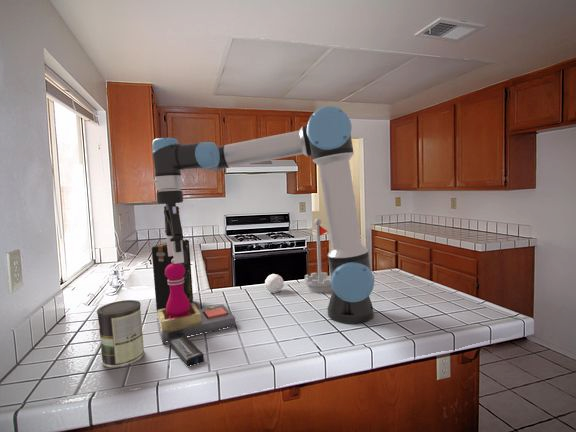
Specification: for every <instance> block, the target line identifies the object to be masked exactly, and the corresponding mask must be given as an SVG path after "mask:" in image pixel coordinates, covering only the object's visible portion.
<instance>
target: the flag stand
mask: <svg viewBox="0 0 576 432" xmlns="http://www.w3.org/2000/svg"><path fill="white" fill-rule="evenodd" d="M313 223H314V225H315V229H316V230H315V231H316V254H317V257H316V259H317V272H311V273H310V275H309V274H305V275H304V284H305V285H306V289H307V291H308V292H311V293H316V294H318V293H319V294H320V293H321V294H322V293H323V294H325V293H330V292H332V287H331V274H330V273H329V275H328V272H323V271H322V250H321V249H322V248H321V236H322V235H323V234H326V233H327V232H328V230H327V229H326V228H324V227H322V226H321V224H322V220H321V218H318V217H317V218H315V219H314V222H313Z"/></svg>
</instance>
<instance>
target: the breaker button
mask: <svg viewBox="0 0 576 432" xmlns="http://www.w3.org/2000/svg"><path fill="white" fill-rule="evenodd" d="M204 314H205V317H206V318H207V319H211V318H215V317H220V316H224V315H227V312H226V311H225V310H224V309H223V308H222V307H221V308H216V309H211V310H206V311H204Z"/></svg>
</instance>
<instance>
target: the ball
mask: <svg viewBox="0 0 576 432" xmlns="http://www.w3.org/2000/svg"><path fill="white" fill-rule="evenodd" d="M284 282H285V281H284V279H283V277H282V276H281V275H279V274H275V273H272V274H269V275H268V276H267V277H266V279H265V280H264V286H265V289H266V291H268V292H270V293H273V294H275V293H276V294H277V293H279V292H281V290H282V289H283V288H284V286H285V285H284V284H285V283H284Z"/></svg>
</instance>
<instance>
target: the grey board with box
mask: <svg viewBox="0 0 576 432" xmlns="http://www.w3.org/2000/svg"><path fill="white" fill-rule="evenodd" d="M221 307H222V308H223V309H224V310H225V311H226V312H227V315H224V316H220V317H215V318H211V319H207V318H206V317H205V314H204V311H206V310H211V309H216V308H221ZM188 313H189V315H185V316H181V317H176V318H171V319H169V316H170V315H169V314H168V313H167V311H166V308H165V309H160V310H158V312H157V317H156V322H157V329H159V330H158V332H160V333H159V336H161V337H160V339H161V340H162V341H161V343H162V342H166V341H170V340H172V339H176V338H179V337H182V336H186V337H187V336H191V335H196V334H200V333H205V332H210V331H215V330H219V329H223V328H227V327H232V326H236V317H235V316H234V315H233V313H232V312H231V311H230V310H229V309H228V308H227V307H226V305H224V304H219V305H210V306H208V307H204V308H199V309H198V307H197V306H196V304H195V303H193V302H190V309H189V311H188ZM232 328H233V327H232ZM227 329H228V328H227ZM223 330H224V329H223ZM219 331H220V330H219ZM215 332H216V331H215ZM210 333H211V332H210Z"/></svg>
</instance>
